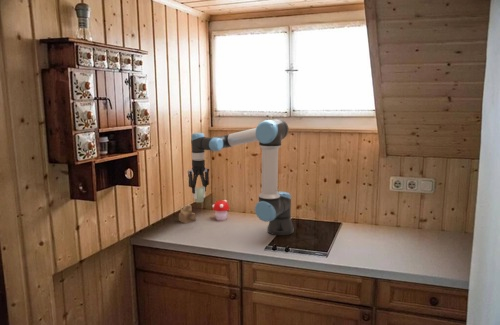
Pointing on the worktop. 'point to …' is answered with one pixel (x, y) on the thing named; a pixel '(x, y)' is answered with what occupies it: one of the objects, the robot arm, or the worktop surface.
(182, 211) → the tower top
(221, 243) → the worktop surface
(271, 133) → the robot arm
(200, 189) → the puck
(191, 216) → the tower base
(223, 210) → the mushroom
